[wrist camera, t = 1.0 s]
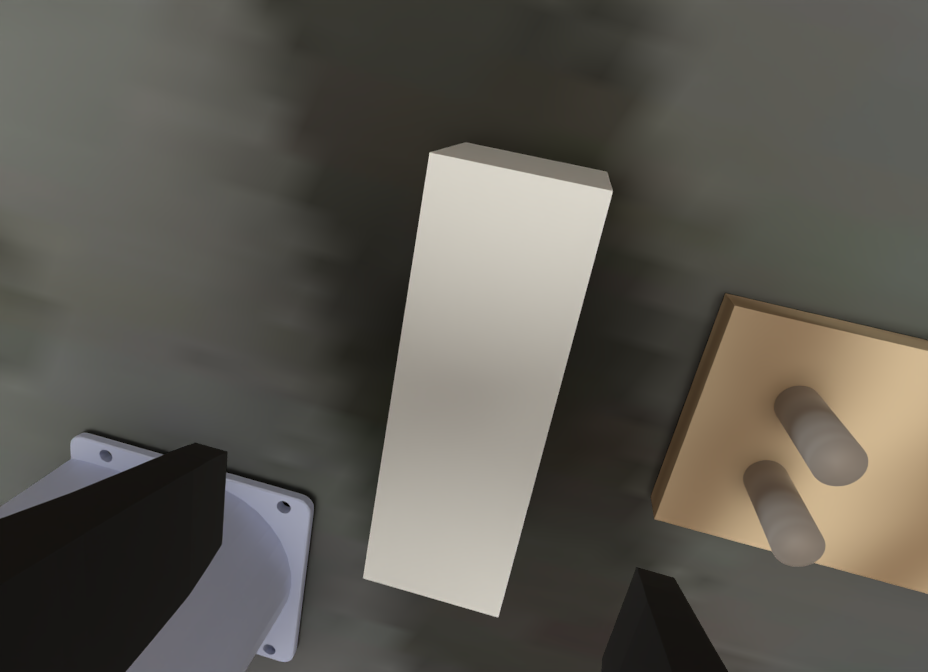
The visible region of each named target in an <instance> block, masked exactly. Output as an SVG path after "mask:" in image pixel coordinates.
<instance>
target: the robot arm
mask: <svg viewBox="0 0 928 672" xmlns="http://www.w3.org/2000/svg"><path fill="white" fill-rule="evenodd" d="M70 449H71V459H70V460H68V461H67V462H65V463H64V464H62V465H61V466H60V467H58V468H57V469H55V470H54V471H52V472H51V473H49V474H48V475H46V476H45V477H43V478H42V479H40V480H39V481H37V482H36V483H34V484H33V485H31V486H30V487H29V488H27V489H26V490H24V491H23V492H21V493H20V494H18V495H17V496H15V497H14V498H12V499H11V500H9V501H8V502H6V503H5V504H3V505H2V506H0V672H245V671H246V669H247V668H248V666H249V664H250V663H251V661H252V659H253V658H254V656H255V655H256V654H258V655H262V656H265V657H268V658H271V659H274V660H277V661H281V662H288V661H290V660H292V658H293V656H294V655H295V653H296V650H297V643H298V635H299V627H300V619H301V610H302V602H303V594H304V586H305V578H306V570H307V562H308V554H309V546H310V538H311V530H312V522H313V514H314V504H313V502H312V501H311V499H310V498H308V497H307V496H305V495H303V494H300V493H297V492H293V491H290V490H286V489H283V488H279V487H276V486H272V485H269V484H265V483H262V482H258V481H255V480H251V479H248V478H244V477H241V476H237V475H234V474H230V473H227V472H226V468H227V451H223V450H220V449H216V448H212V447H209V446H205V445H202V444H198V443H193V444H191V445H188V446H185V447H182V448H179V449H177V450H174V451H172V452H169V453H167V454H160V453H157V452H153V451H150V450H146V449H143V448H139V447H136V446H132V445H129V444H125V443H122V442H118V441H115V440H111V439H108V438H104V437H101V436H97V435H94V434H90V433H84V432H83V433H80V434H78V435H77V436H75V437H74V438H73V439H72V440H71V443H70ZM108 451H109V452H110V453H111V455H110V454H109V453H108ZM282 501H285V502H287V503H288V504H289V505H290V507H287V506H286V505H284V504H283V502H282ZM602 672H728V671H727V669H726V667H725V665H724V664H723V662H722V660H721V659H720V657H719V655H718V654H717V652H716V650H715V648H714V647H713V645H712V643H711V642H710V640H709V638H708V636H707V635H706V633H705V631H704V629H703V628H702V626H701V624H700V622H699V621H698V619H697V617H696V615H695V613H694V612H693V610H692V608H691V606H690V605H689V603H688V601H687V599H686V598H685V596H684V594H683V592H682V591H681V589H680V587H679V585H678V584H677V582H676V580H675V579H674V578H673V577H669V576H666V575H662V574H659V573H655V572H652V571H648V570H644V569H641V568H637V567H636V570H635V573H634V575H633V578H632V581H631V583H630V586H629V589H628V591H627V594H626V597H625V599H624V602H623V605H622V607H621V610H620V613H619V615H618V618H617V621H616V623H615V626H614V629H613V631H612V634H611V636H610V639H609V642H608V644H607V647H606V650H605V652H604V655H603V658H602Z"/></svg>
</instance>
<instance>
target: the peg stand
mask: <svg viewBox="0 0 928 672" xmlns="http://www.w3.org/2000/svg"><path fill="white" fill-rule="evenodd" d="M651 501H652V507H653V513H654V519H656V520H659V521H663V522H667V523H670V524H674V525H678V526H681V527H685V528H689V529H692V530H696V531H700V532H703V533H707V534H711V535H714V536H718V537H722V538H725V539H729V540H733V541H736V542H740V543H744V544H747V545H751V546H755V547H758V548H762V549H766V550H769V551H772V552H773V554H774V556H775V557H776V558H777V559H778V560H779V561H780V562H782V563H783V564H786V565H789V566H794V567H802V566H807V565H810V564H813V563H817V564H821V565H824V566H828V567H832V568H835V569H839V570H843V571H846V572H850V573H854V574H857V575H861V576H865V577H868V578H872V579H876V580H879V581H883V582H887V583H890V584H894V585H898V586H901V587H905V588H909V589H912V590H916V591H920V592H923V593H927V594H928V340H924V339H920V338H916V337H911V336H907V335H903V334H898V333H894V332H890V331H886V330H881V329H877V328H873V327H868V326H864V325H860V324H856V323H851V322H847V321H843V320H838V319H834V318H830V317H825V316H821V315H817V314H813V313H808V312H804V311H800V310H795V309H791V308H787V307H782V306H778V305H774V304H770V303H765V302H761V301H757V300H752V299H748V298H744V297H740V296H735V295H731V294H727V293H725V296H724V298H723V301H722V304H721V306H720V309H719V312H718V315H717V317H716V320H715V323H714V326H713V328H712V331H711V334H710V336H709V339H708V342H707V345H706V347H705V350H704V353H703V355H702V358H701V361H700V364H699V366H698V369H697V372H696V375H695V377H694V380H693V383H692V385H691V388H690V391H689V394H688V396H687V399H686V402H685V405H684V407H683V410H682V413H681V415H680V418H679V421H678V424H677V426H676V429H675V432H674V434H673V437H672V440H671V443H670V445H669V448H668V451H667V454H666V456H665V459H664V462H663V464H662V467H661V470H660V473H659V475H658V478H657V481H656V483H655V486H654V489H653V492H652V494H651Z"/></svg>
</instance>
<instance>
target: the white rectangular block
mask: <svg viewBox="0 0 928 672" xmlns="http://www.w3.org/2000/svg"><path fill="white" fill-rule="evenodd" d="M612 193H613V190H612V186H611V183H610V180H609V176H608V173H607V172H606V171H601V170H597V169H592V168H587V167H582V166H577V165H572V164H568V163H563V162H558V161H553V160H548V159H544V158H539V157H534V156H529V155H524V154H520V153H515V152H510V151H505V150H500V149H495V148H491V147H486V146H481V145H476V144H471V143H467V142H465V143H461V144H458V145H454V146H451V147H447V148H444V149H440V150H437V151H433V152H430V153H429V160H428V166H427V173H426V179H425V185H424V192H423V198H422V204H421V211H420V217H419V224H418V230H417V236H416V243H415V249H414V256H413V262H412V268H411V275H410V281H409V288H408V294H407V300H406V307H405V313H404V319H403V326H402V332H401V339H400V345H399V351H398V358H397V364H396V371H395V377H394V383H393V390H392V396H391V403H390V409H389V415H388V422H387V428H386V434H385V441H384V447H383V454H382V460H381V466H380V473H379V479H378V486H377V492H376V498H375V505H374V511H373V517H372V524H371V530H370V537H369V543H368V549H367V556H366V562H365V569H364V575H363V578H364V579H367V580H371V581H374V582H378V583H381V584H385V585H388V586H391V587H395V588H398V589H402V590H405V591H409V592H412V593H416V594H419V595H422V596H426V597H429V598H433V599H436V600H440V601H443V602H447V603H450V604H454V605H457V606H460V607H464V608H467V609H471V610H474V611H478V612H481V613H485V614H488V615H491V616H495V617H498V616H499V613H500V609H501V605H502V602H503V598H504V594H505V590H506V587H507V583H508V579H509V576H510V572H511V568H512V564H513V561H514V557H515V553H516V550H517V546H518V542H519V538H520V535H521V531H522V527H523V524H524V520H525V516H526V512H527V509H528V505H529V501H530V498H531V494H532V490H533V486H534V483H535V479H536V475H537V472H538V468H539V464H540V460H541V457H542V453H543V449H544V445H545V442H546V438H547V434H548V431H549V427H550V423H551V419H552V416H553V412H554V408H555V405H556V401H557V397H558V393H559V390H560V386H561V382H562V379H563V375H564V371H565V367H566V364H567V360H568V356H569V353H570V349H571V345H572V341H573V338H574V334H575V330H576V327H577V323H578V319H579V315H580V312H581V308H582V304H583V301H584V297H585V293H586V289H587V286H588V282H589V278H590V275H591V271H592V267H593V263H594V260H595V256H596V252H597V249H598V245H599V241H600V237H601V234H602V230H603V226H604V223H605V219H606V215H607V211H608V208H609V204H610V200H611V196H612Z"/></svg>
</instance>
